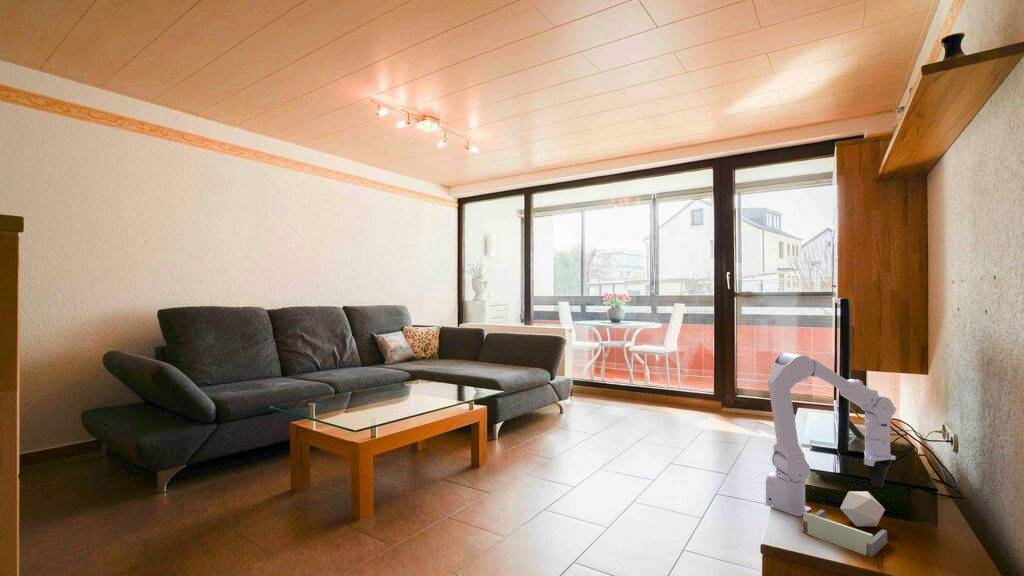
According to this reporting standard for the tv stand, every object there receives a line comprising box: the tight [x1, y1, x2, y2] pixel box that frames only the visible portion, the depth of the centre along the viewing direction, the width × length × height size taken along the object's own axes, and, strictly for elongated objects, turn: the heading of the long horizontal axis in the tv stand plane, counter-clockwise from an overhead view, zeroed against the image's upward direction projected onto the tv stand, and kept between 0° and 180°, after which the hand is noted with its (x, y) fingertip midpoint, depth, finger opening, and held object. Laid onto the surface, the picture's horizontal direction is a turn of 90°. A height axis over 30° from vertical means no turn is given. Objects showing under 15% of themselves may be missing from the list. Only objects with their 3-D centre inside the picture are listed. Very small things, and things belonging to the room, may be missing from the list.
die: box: [839, 490, 886, 528], centre depth 129 cm, size 8×9×10 cm
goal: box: [802, 509, 888, 558], centre depth 121 cm, size 15×11×5 cm
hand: (877, 486), depth 136 cm, fingers closed
